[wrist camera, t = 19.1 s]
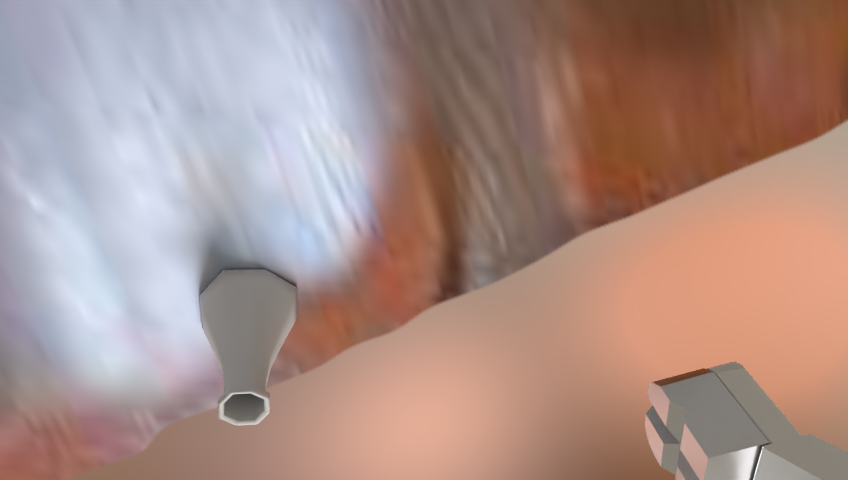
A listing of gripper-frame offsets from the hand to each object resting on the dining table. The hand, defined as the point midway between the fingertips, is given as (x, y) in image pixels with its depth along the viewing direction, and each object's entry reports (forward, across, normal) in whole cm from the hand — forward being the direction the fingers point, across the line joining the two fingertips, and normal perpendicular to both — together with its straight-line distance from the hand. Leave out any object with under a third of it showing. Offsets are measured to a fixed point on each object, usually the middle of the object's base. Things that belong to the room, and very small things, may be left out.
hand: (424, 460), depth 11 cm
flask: (+31, +10, +20) cm, 39 cm away
